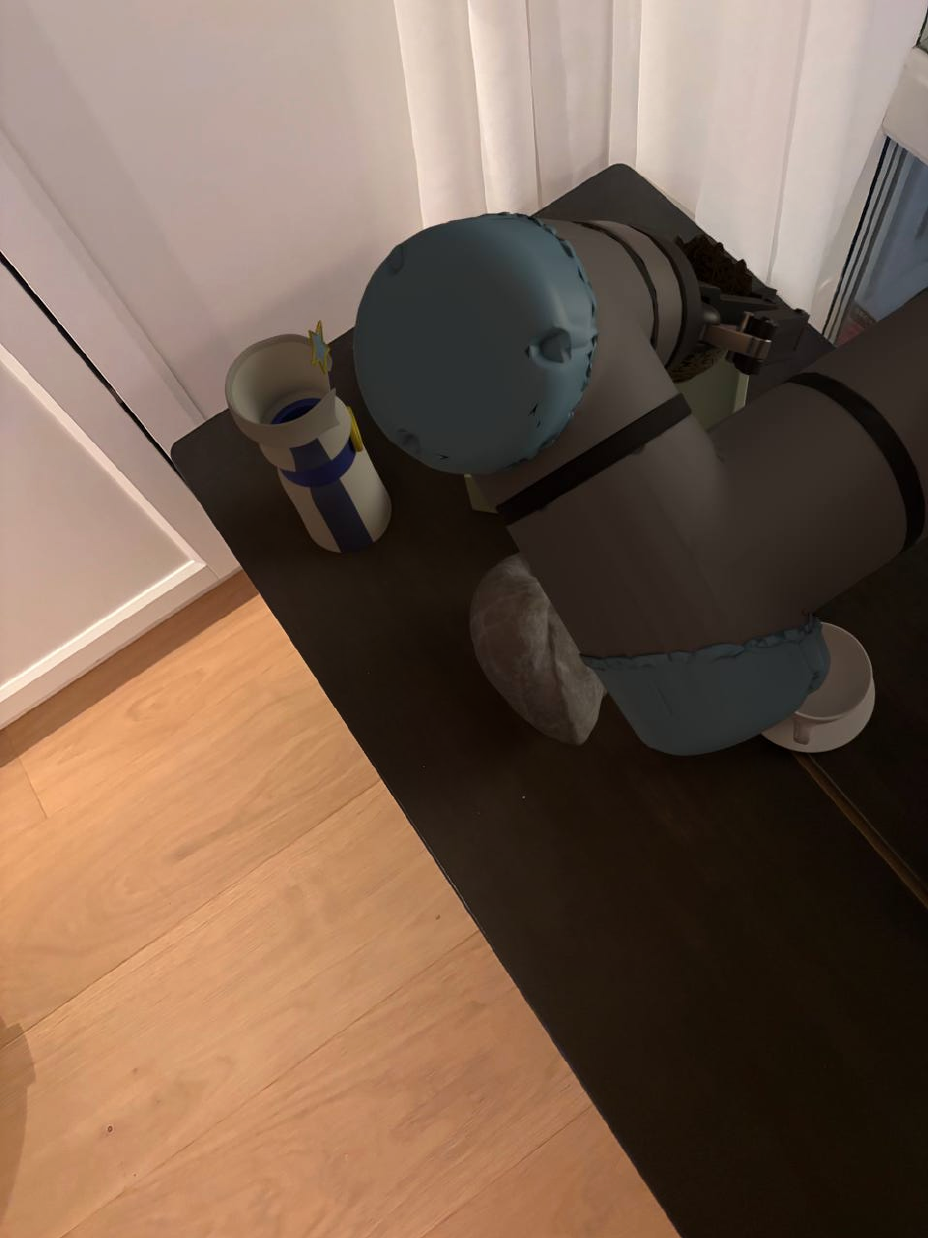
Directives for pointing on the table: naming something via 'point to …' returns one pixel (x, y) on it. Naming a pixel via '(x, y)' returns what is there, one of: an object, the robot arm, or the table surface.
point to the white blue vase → (309, 438)
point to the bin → (705, 396)
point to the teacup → (832, 700)
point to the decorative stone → (532, 654)
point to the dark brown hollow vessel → (720, 274)
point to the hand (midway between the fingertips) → (702, 290)
